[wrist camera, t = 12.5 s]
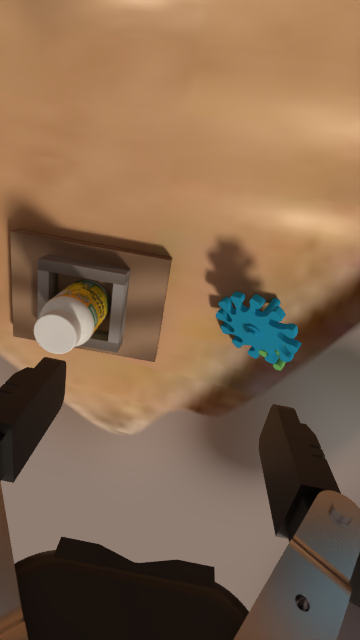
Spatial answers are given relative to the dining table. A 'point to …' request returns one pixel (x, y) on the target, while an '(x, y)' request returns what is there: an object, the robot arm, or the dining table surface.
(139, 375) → the dining table surface
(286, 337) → the gear
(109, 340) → the socket stand
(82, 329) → the supplement bottle
